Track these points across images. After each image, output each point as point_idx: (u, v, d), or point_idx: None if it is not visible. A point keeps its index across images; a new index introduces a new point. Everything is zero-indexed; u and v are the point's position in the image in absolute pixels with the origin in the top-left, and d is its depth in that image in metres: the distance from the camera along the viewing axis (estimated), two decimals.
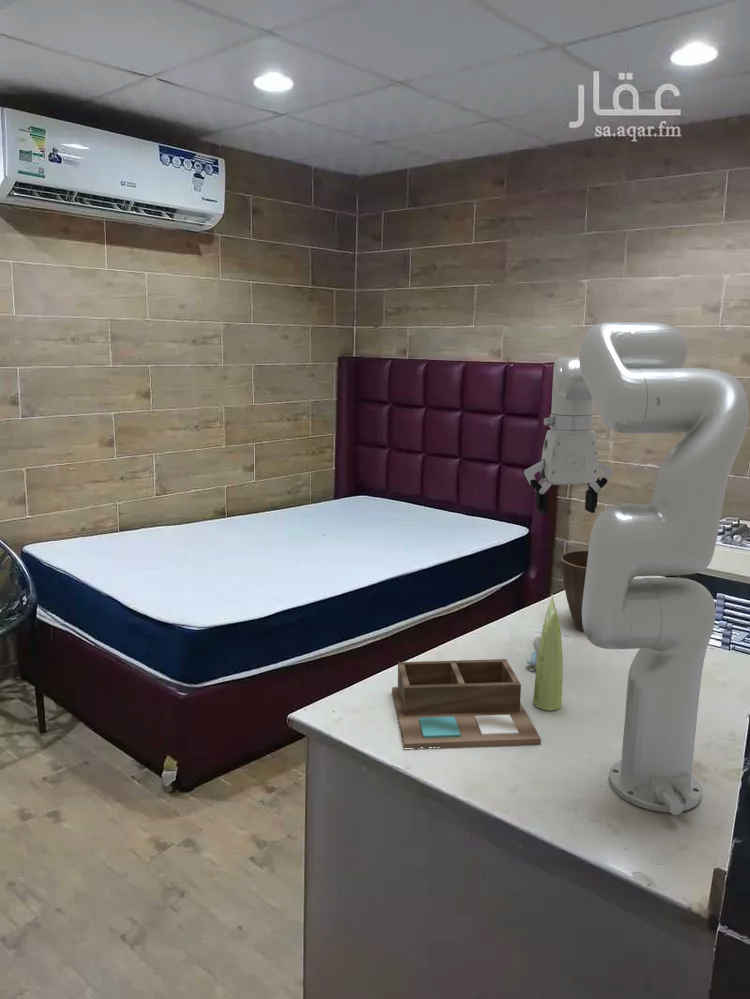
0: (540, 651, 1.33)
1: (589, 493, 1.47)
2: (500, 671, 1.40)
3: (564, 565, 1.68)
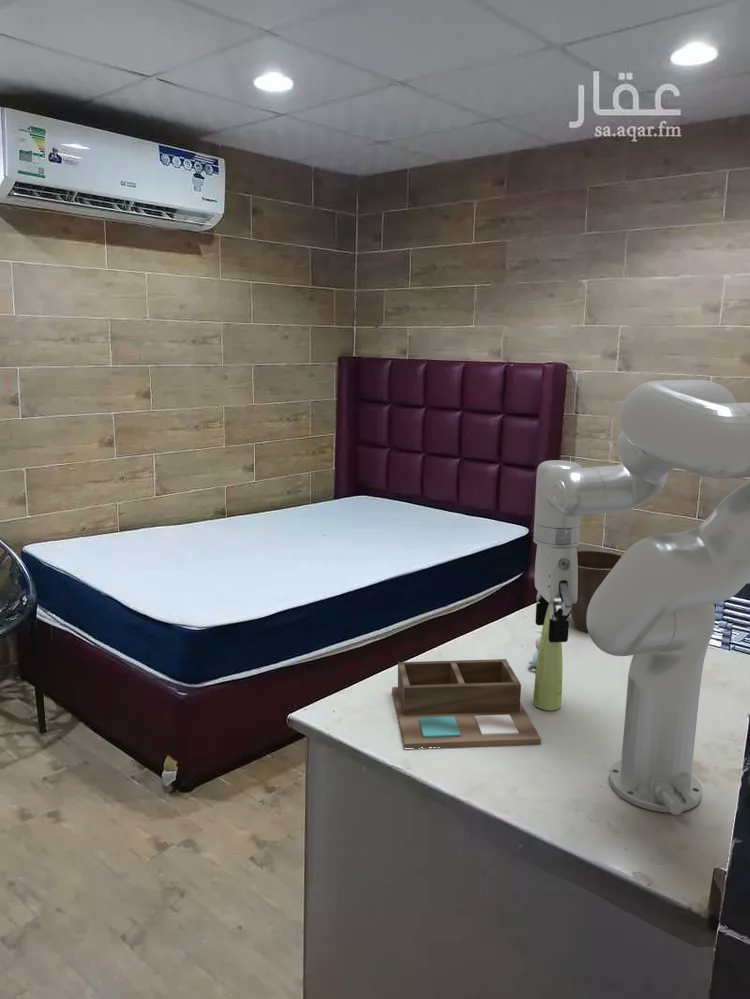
0: (540, 651, 1.33)
1: (547, 606, 1.35)
2: (500, 671, 1.40)
3: None
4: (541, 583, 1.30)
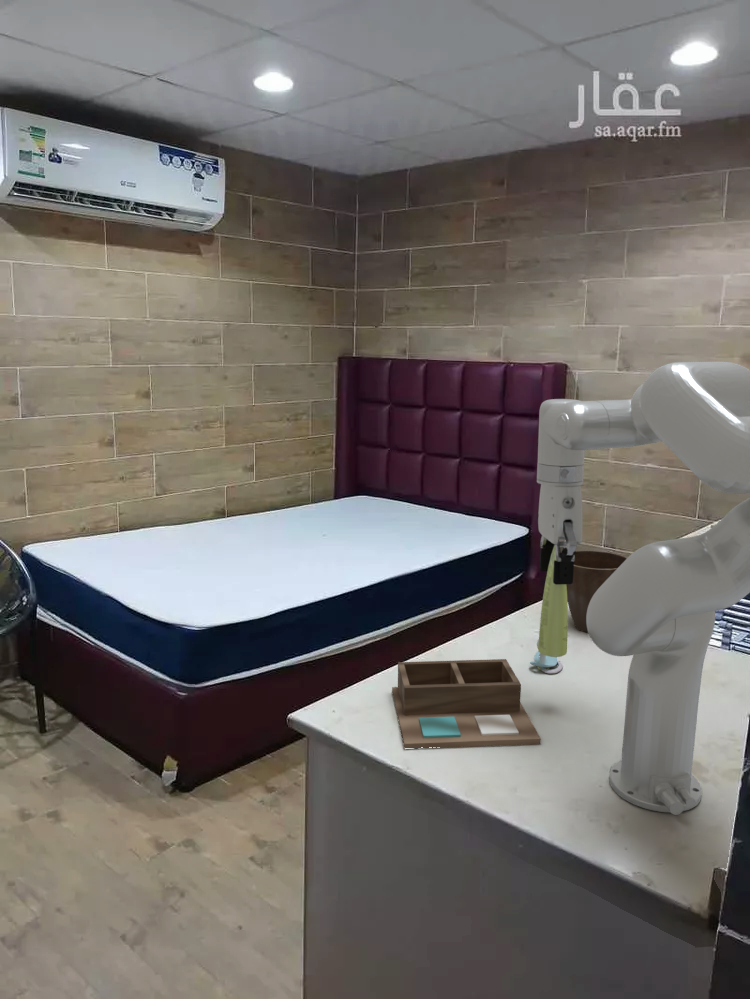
0: (544, 596, 1.30)
1: (551, 551, 1.33)
2: (500, 671, 1.40)
3: None
4: (545, 525, 1.28)
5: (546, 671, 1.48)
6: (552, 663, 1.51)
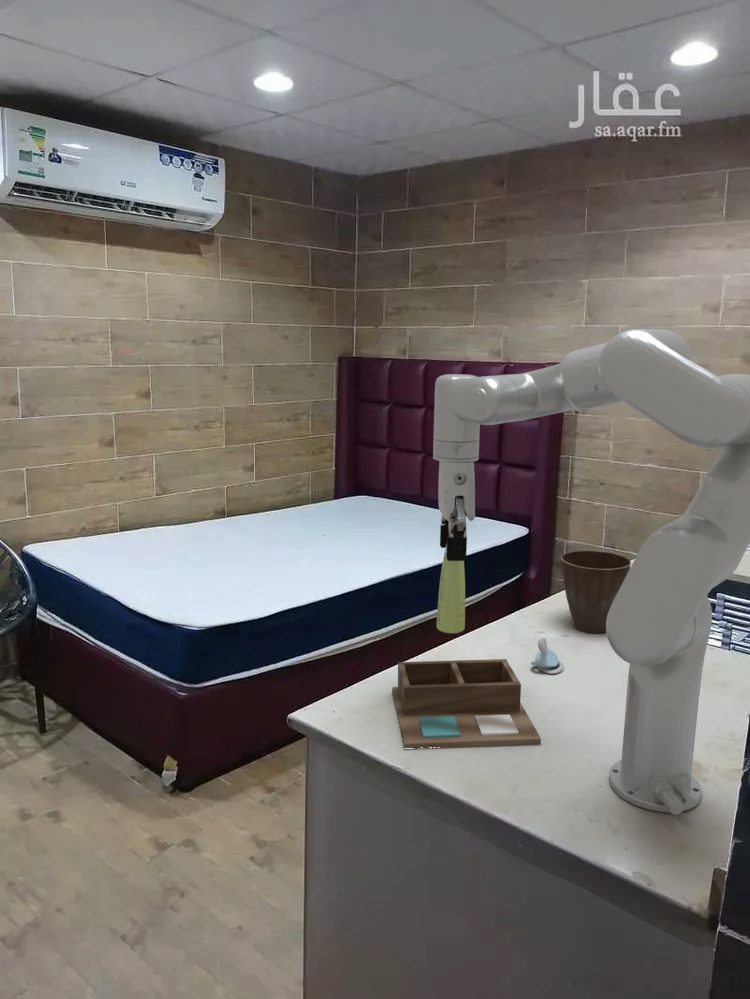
0: (441, 572, 1.30)
1: None
2: (500, 671, 1.40)
3: (564, 565, 1.68)
4: (441, 501, 1.27)
5: (547, 671, 1.48)
6: (553, 663, 1.51)
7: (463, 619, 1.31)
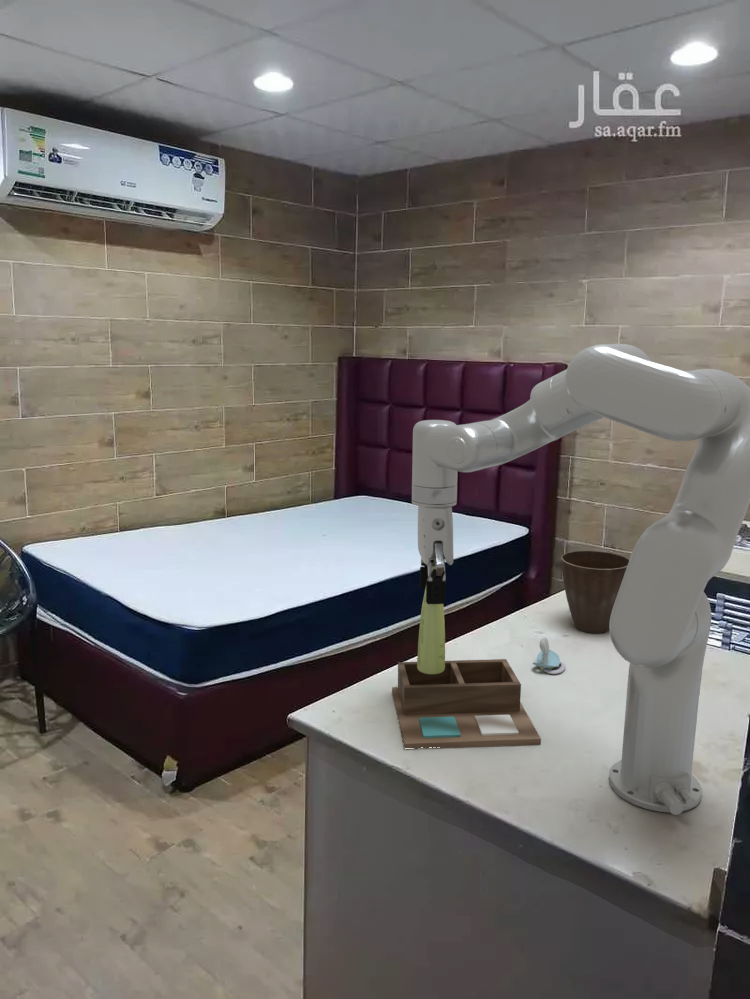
0: (421, 614, 1.31)
1: None
2: (500, 671, 1.40)
3: (564, 565, 1.68)
4: (420, 545, 1.29)
5: (549, 672, 1.48)
6: (555, 664, 1.50)
7: (443, 660, 1.33)
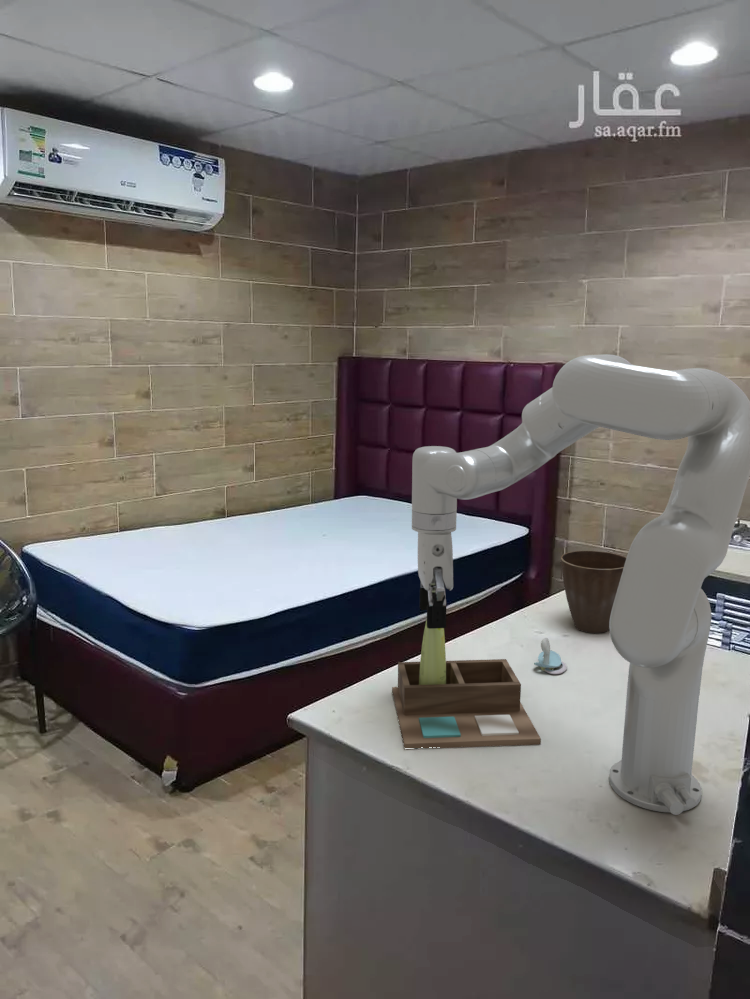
0: (422, 646, 1.32)
1: None
2: (500, 671, 1.40)
3: (564, 565, 1.68)
4: (420, 570, 1.29)
5: (550, 672, 1.48)
6: (556, 664, 1.50)
7: None
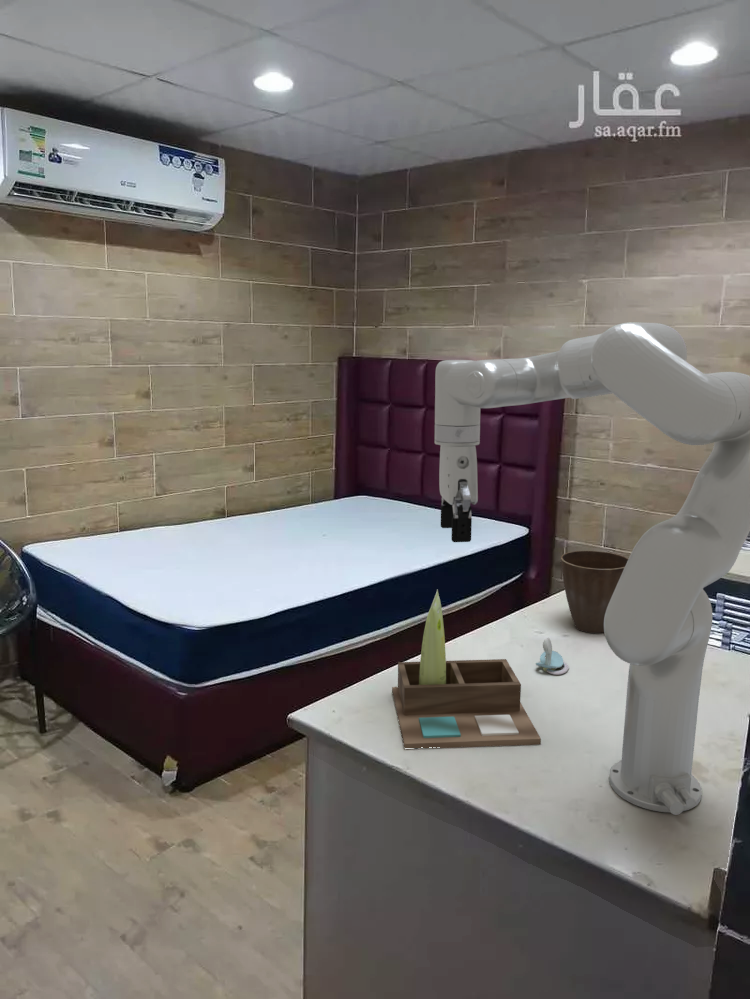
0: (422, 646, 1.32)
1: (451, 508, 1.34)
2: (500, 671, 1.40)
3: (564, 565, 1.68)
4: (443, 486, 1.28)
5: (552, 672, 1.48)
6: (558, 664, 1.50)
7: None
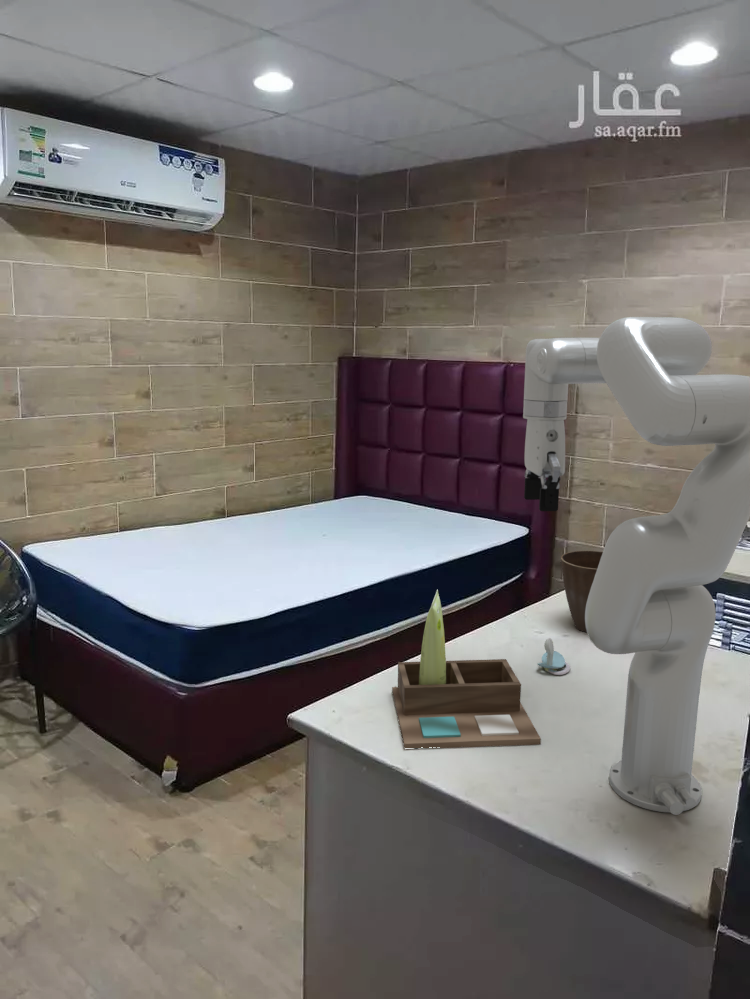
0: (422, 646, 1.32)
1: (535, 480, 1.42)
2: (500, 671, 1.40)
3: (564, 565, 1.68)
4: (530, 458, 1.36)
5: (554, 672, 1.48)
6: (560, 664, 1.50)
7: None
